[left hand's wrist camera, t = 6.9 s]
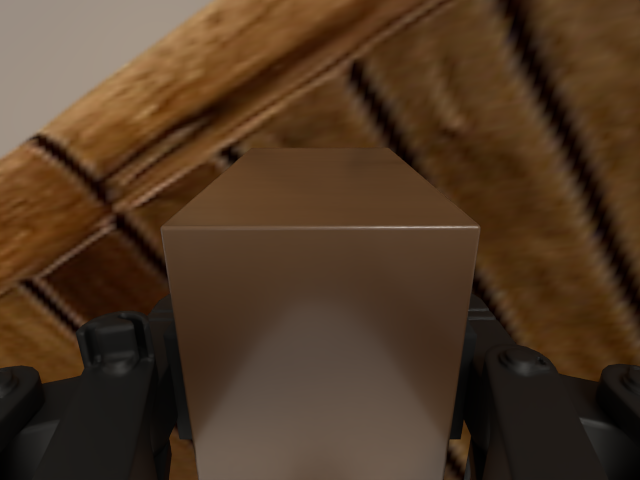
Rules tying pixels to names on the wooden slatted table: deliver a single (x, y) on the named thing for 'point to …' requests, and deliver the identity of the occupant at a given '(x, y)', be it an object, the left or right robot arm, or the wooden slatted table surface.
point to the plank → (320, 316)
